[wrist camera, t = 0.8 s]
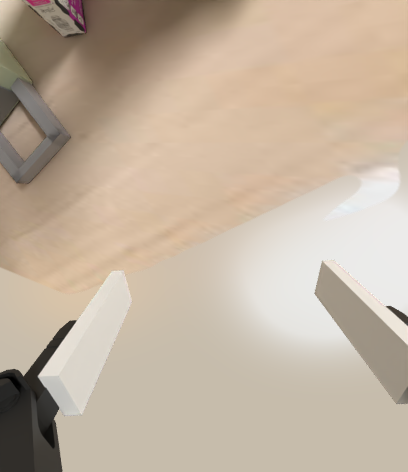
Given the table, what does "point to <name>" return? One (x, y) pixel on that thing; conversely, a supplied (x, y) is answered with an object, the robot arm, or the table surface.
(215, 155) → the table surface
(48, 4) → the candy bar box
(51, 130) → the frame
